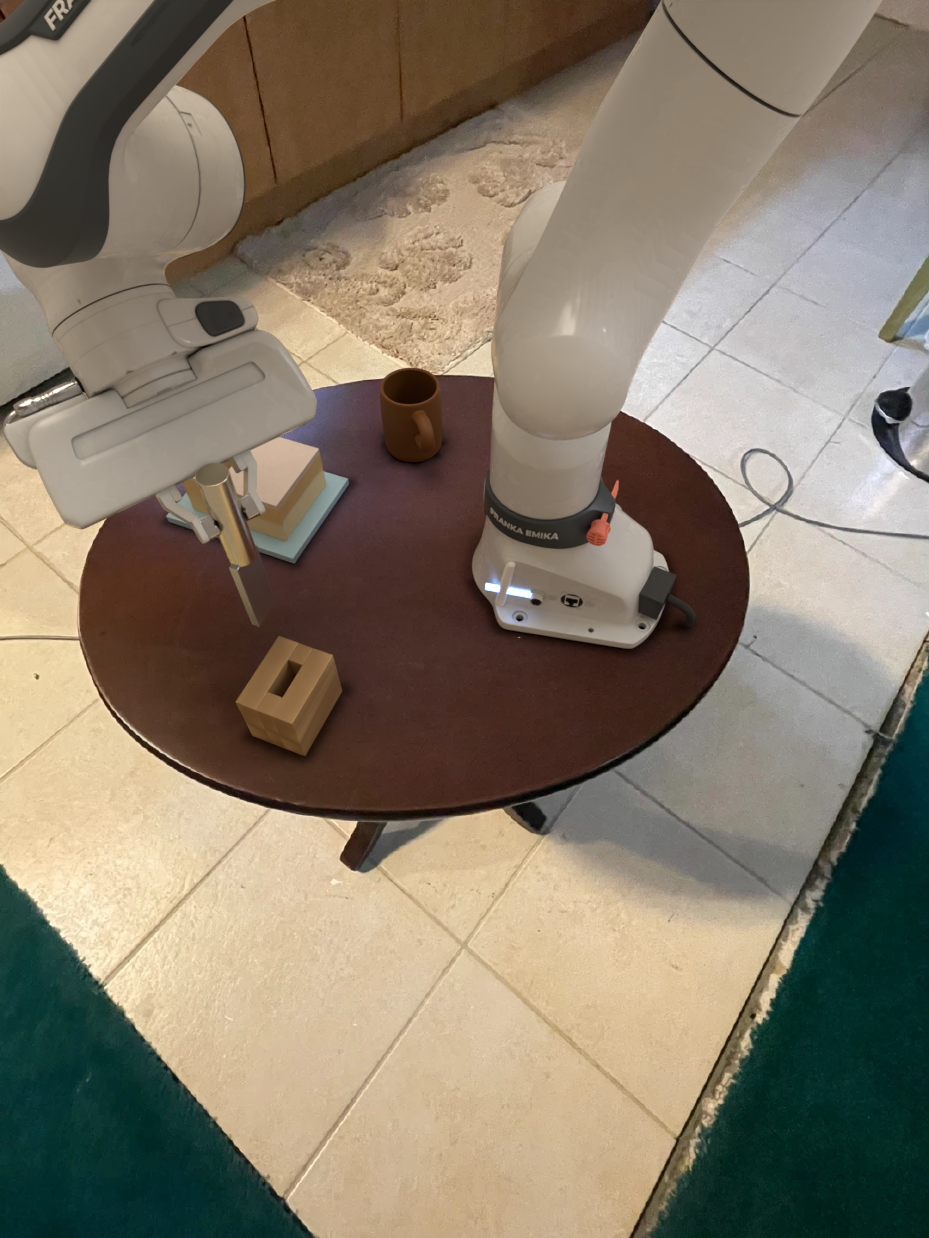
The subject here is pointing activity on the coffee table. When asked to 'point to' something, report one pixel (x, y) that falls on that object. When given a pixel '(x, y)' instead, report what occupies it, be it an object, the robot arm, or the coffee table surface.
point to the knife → (236, 540)
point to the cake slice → (197, 493)
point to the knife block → (290, 695)
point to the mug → (411, 414)
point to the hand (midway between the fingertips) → (234, 528)
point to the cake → (285, 497)
